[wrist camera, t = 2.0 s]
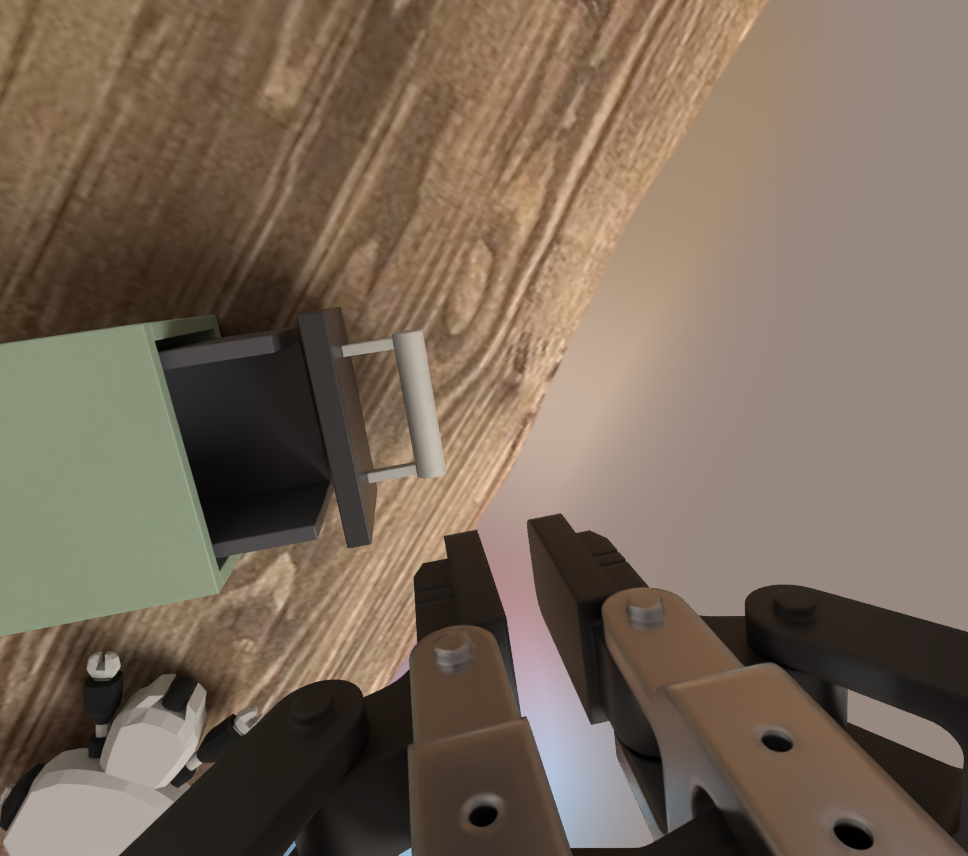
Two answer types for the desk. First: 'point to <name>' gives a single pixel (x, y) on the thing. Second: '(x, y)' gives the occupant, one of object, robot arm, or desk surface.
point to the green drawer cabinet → (97, 479)
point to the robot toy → (117, 767)
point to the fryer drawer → (291, 430)
